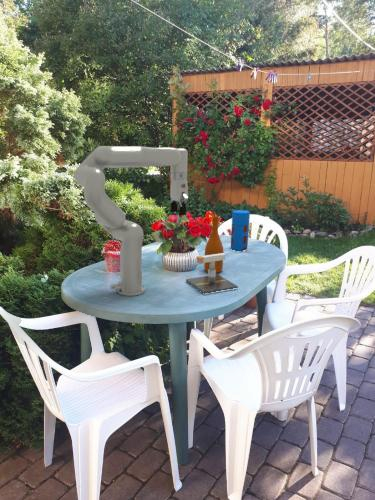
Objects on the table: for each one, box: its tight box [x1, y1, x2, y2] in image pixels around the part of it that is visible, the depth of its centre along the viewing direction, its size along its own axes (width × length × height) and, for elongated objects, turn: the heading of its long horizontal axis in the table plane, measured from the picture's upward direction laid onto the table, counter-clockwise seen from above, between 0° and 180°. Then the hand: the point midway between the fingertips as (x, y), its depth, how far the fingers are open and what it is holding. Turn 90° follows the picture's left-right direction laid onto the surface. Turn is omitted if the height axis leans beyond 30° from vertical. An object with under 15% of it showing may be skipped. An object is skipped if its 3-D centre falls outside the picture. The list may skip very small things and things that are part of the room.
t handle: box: [196, 252, 226, 270], centre depth 174 cm, size 3×14×7 cm, turn 120°
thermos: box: [230, 209, 251, 252], centre depth 239 cm, size 11×11×25 cm
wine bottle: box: [203, 214, 224, 274], centre depth 195 cm, size 10×10×30 cm
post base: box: [185, 269, 239, 294], centre depth 177 cm, size 18×18×8 cm
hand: (178, 213), depth 175 cm, fingers open, 9 cm apart
